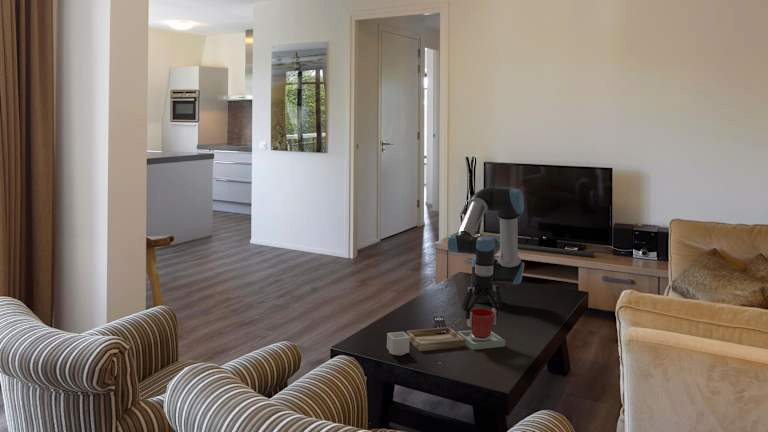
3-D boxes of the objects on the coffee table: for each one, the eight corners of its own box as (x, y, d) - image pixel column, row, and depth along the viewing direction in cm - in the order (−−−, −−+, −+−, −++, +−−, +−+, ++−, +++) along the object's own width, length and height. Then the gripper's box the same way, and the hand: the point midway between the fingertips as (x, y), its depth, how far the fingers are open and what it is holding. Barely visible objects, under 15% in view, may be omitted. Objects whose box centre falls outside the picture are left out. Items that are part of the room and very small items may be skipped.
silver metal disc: (466, 334, 254) (466, 332, 254) (485, 332, 256) (485, 330, 256) (476, 341, 245) (476, 340, 245) (495, 339, 248) (495, 338, 248)
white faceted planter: (386, 349, 239) (387, 333, 238) (402, 348, 242) (403, 331, 241) (392, 356, 233) (392, 339, 232) (409, 354, 235) (409, 337, 234)
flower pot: (465, 329, 255) (466, 308, 254) (490, 329, 256) (491, 308, 255) (471, 338, 245) (472, 316, 244) (497, 338, 246) (498, 316, 244)
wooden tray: (406, 337, 254) (406, 330, 253) (448, 333, 260) (448, 327, 260) (420, 351, 239) (420, 344, 238) (464, 346, 245) (465, 339, 245)
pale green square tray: (456, 337, 256) (456, 331, 255) (487, 334, 261) (487, 328, 260) (472, 349, 242) (472, 343, 241) (504, 346, 247) (505, 340, 246)
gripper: (462, 278, 240) (460, 330, 243) (513, 274, 247) (510, 325, 250) (454, 273, 247) (452, 324, 250) (503, 270, 254) (501, 320, 257)
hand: (481, 325), depth 250 cm, fingers closed on flower pot, 11 cm apart
